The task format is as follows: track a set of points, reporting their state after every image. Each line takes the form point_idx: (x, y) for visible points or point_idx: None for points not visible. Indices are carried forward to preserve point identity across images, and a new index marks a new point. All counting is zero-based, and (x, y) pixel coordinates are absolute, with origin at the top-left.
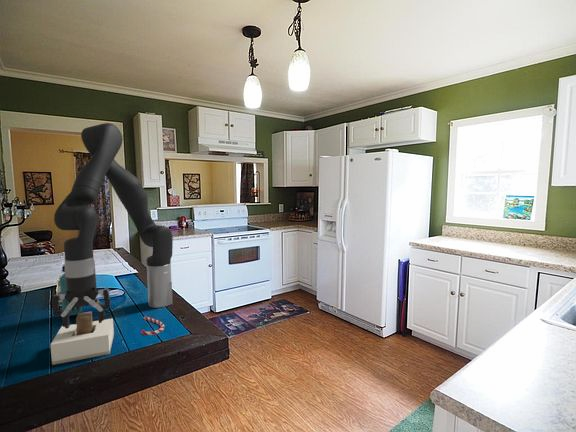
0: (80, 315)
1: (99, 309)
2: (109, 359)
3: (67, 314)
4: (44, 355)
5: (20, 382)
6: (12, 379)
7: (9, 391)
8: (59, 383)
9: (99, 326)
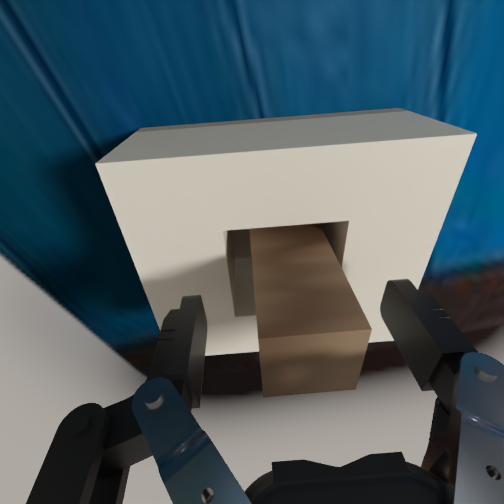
0: (286, 374)
1: (448, 416)
2: None
3: (185, 392)
4: (111, 218)
5: (141, 342)
6: (106, 327)
7: (139, 363)
8: (245, 362)
9: (366, 248)
